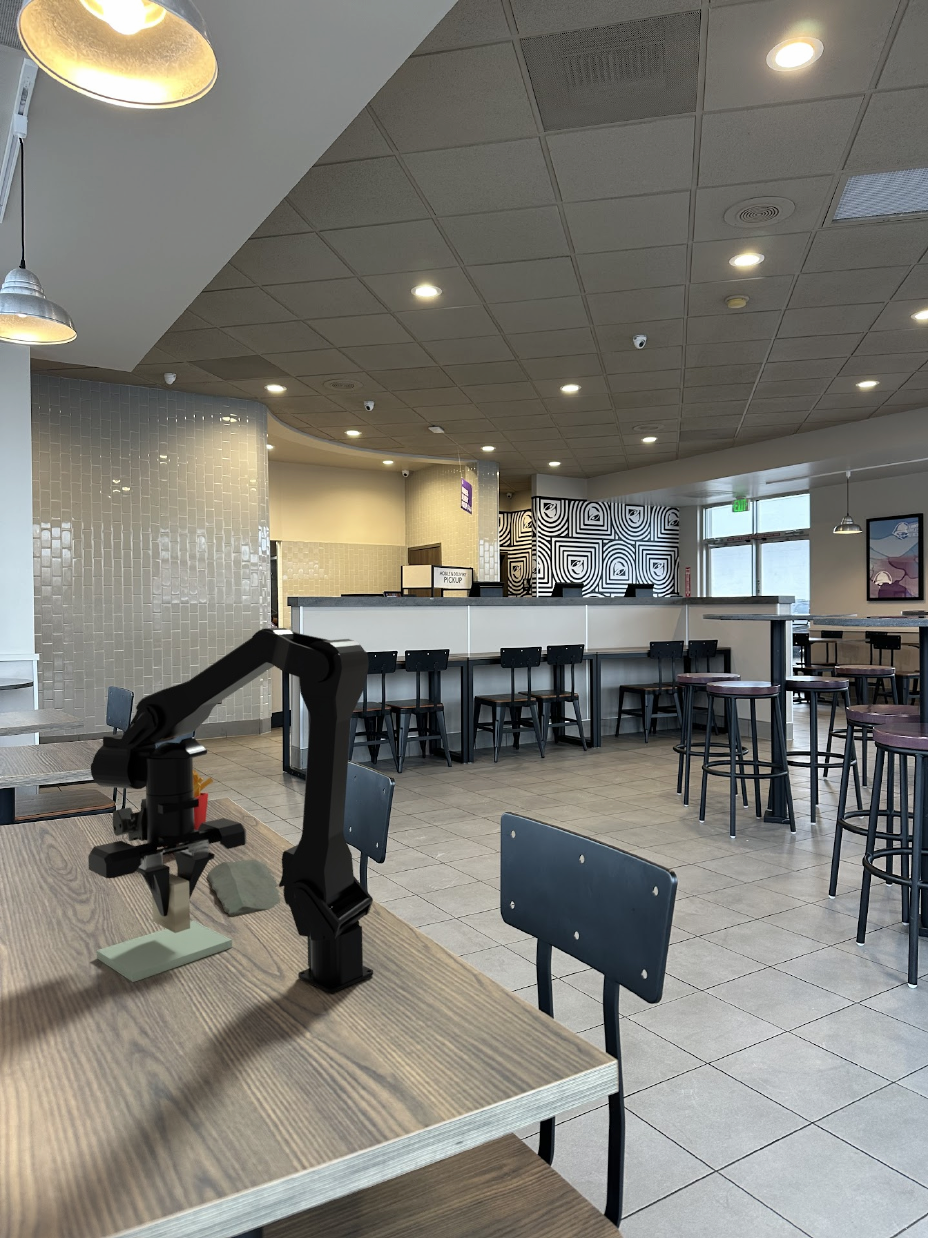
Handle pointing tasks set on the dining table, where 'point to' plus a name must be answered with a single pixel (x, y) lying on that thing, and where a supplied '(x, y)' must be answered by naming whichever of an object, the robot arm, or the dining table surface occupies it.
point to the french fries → (200, 800)
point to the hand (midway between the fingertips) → (172, 913)
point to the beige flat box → (175, 906)
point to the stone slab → (244, 887)
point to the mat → (162, 951)
